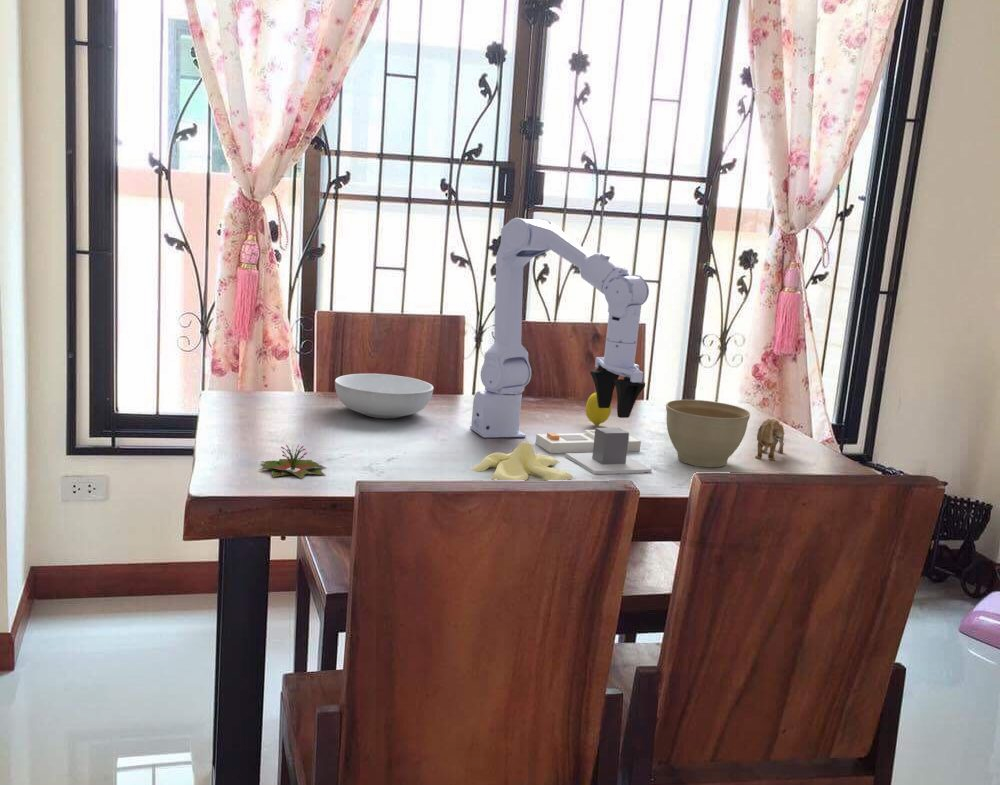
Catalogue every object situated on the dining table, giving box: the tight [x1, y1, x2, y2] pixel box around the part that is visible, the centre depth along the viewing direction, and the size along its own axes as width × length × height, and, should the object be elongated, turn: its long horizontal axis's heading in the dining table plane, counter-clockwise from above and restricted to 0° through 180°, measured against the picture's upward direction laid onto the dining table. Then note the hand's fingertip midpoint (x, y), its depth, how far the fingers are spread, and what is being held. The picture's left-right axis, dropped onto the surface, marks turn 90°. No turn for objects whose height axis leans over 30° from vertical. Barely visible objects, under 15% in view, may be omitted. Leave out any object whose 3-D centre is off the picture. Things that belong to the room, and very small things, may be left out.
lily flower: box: [258, 444, 327, 480], centre depth 170 cm, size 12×12×5 cm
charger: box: [592, 427, 630, 465], centre depth 190 cm, size 5×4×6 cm
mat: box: [565, 452, 653, 475], centre depth 191 cm, size 12×12×1 cm
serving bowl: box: [334, 373, 435, 419], centre depth 215 cm, size 21×21×7 cm
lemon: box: [585, 391, 612, 427], centre depth 221 cm, size 6×6×8 cm
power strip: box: [535, 429, 642, 454], centre depth 202 cm, size 20×7×3 cm, turn 113°
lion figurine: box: [754, 418, 785, 462], centre depth 208 cm, size 15×5×9 cm, turn 161°
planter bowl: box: [665, 399, 751, 468], centre depth 198 cm, size 16×16×11 cm
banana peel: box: [469, 440, 574, 481], centre depth 181 cm, size 22×19×6 cm
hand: (613, 412), depth 189 cm, fingers open, 7 cm apart
